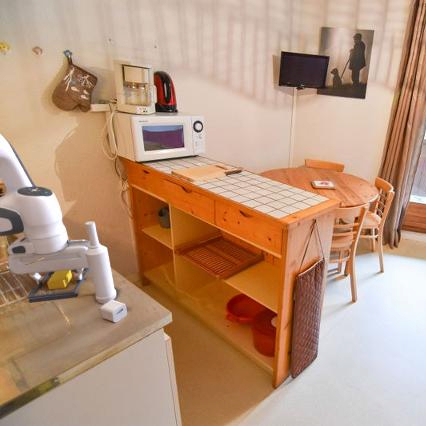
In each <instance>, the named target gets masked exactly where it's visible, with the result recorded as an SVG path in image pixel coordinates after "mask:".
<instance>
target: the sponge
mask: <svg viewBox="0 0 426 426" xmlns="http://www.w3.org/2000/svg"><path fill="white" fill-rule="evenodd" d="M71 270H72V269H70V270H64V271H61V270H59V271H55V272H54V274H51V276H50V278H49V279H48V281H46V283H47V286H48V289H49V290H58V289H65V288H67V286H68V284H69V283H70V281H71V280H72V278H73V274H72V272H71Z"/></svg>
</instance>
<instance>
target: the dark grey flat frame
mask: <svg viewBox="0 0 426 426" xmlns="http://www.w3.org/2000/svg"><path fill="white" fill-rule="evenodd" d="M70 270H71V273H74V272H75V273H76V272H78V271H77V270H76V269H70ZM60 271H64V270H60ZM54 272H55V271H49V272H46V273H45V275H44V276H45V279H46V280H47V278H49V276H50V275H53V274H54ZM82 272H83V274H82V279H81V280H78V282H77V284H76V286H75V287H74V289H73V290H70V291H62V292H52V293H44V294H36V293H37V291H38V290H39V289H40V288H41V286H42V285H43V284H36V286H35V287H34V289H33V290H32V292H31V293H30V294H29V295H28V296H27V299H28V301H29V303H30V304H31V303H41V302H49V301H57V300H64V299H67V300H68V299H74V298H75V299H76V298H77V297H78V295H79V293H77V292H78V290H79V288H80V286H81V285H82V283H83V281H84V280H85V278H86V276H87V274H88V272H90V270H89V268H84V269H83V271H82Z"/></svg>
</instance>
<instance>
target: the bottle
mask: <svg viewBox="0 0 426 426" xmlns="http://www.w3.org/2000/svg"><path fill="white" fill-rule="evenodd" d="M84 224H85V229H86V232H87V236H88V241H90V246H89V248H88V249H87V250H86V251H85V255H86V259H87V263H88V266H89V274H90V278H91V280H92V285H93V288H94V291H95V300H96V301H97V303H99V304H102V305H104V303H108V302H109V301H111V300H114V301H115V300H116V298H117V290H116V289H115V284H114V279H113V272H112V268H111V262H110V256H109V251H108V247H107V246H104V245H102V244H101V243H100V242H99V237H98V233H97V227H96V222H95V221H87V222H85V223H84Z"/></svg>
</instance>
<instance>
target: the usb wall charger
mask: <svg viewBox="0 0 426 426" xmlns="http://www.w3.org/2000/svg"><path fill="white" fill-rule="evenodd" d="M97 311H100V314H101V317H102V318H103V319H105V320H108V321H110V322H113V323H118V322H119V321H121V320H122V319H124V318H125V317H126V316H127V315H128V309H127V305H126V304H125V303H124V302H120V301H117V300H115V299H114V300H111V301H109V302H108V303H103V304H102V305H101V306H100V307H97Z"/></svg>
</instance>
